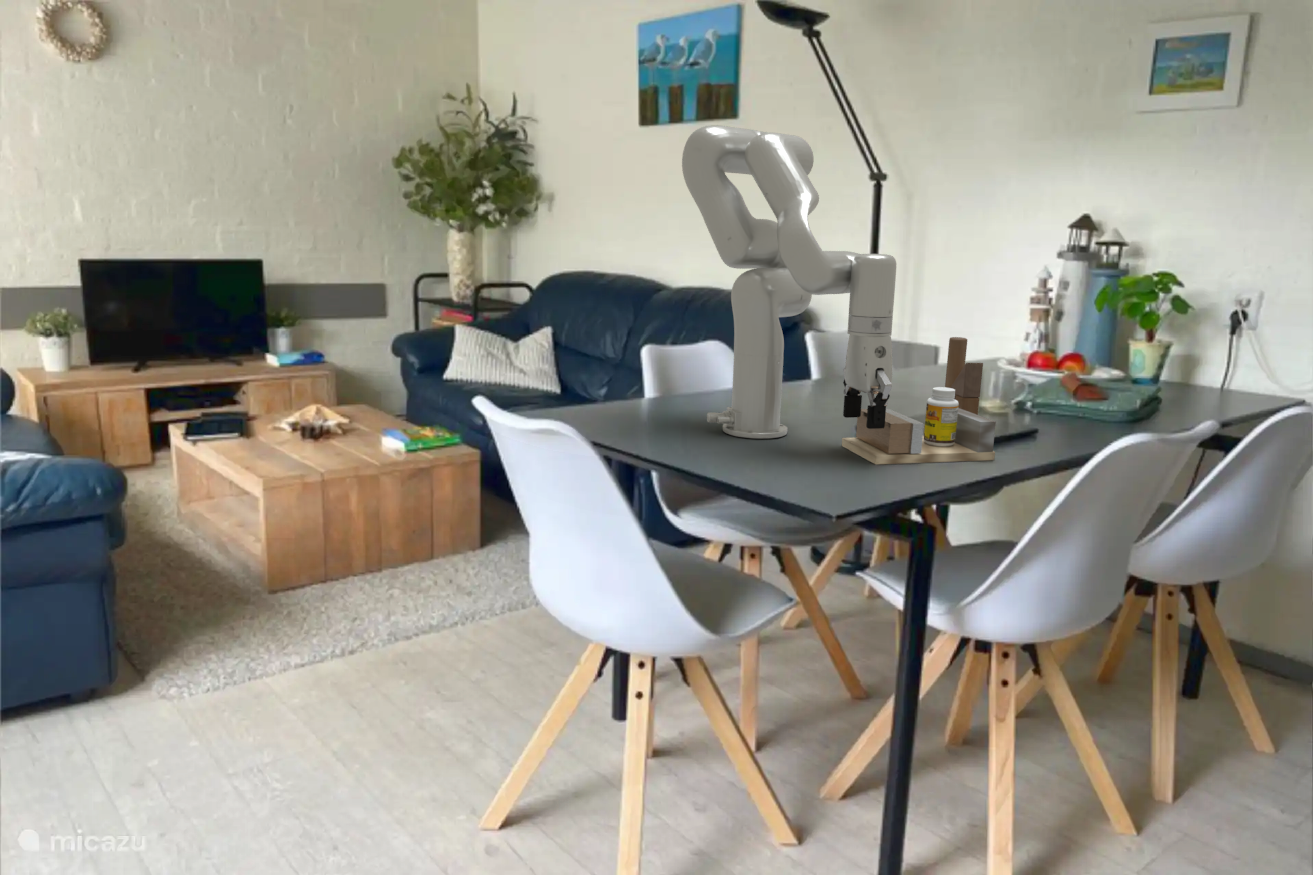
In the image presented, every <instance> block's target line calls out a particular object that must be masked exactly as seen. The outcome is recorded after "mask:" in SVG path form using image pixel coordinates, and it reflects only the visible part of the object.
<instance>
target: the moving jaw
mask: <svg viewBox="0 0 1313 875" xmlns="http://www.w3.org/2000/svg"><path fill="white" fill-rule="evenodd" d="M867 409H868V408H861V416H860V417H856V430H855V432H856V433H855V438H859V439H861V440H863V441H864V442H866V443H868V444H870V445H872V446H874V447H876V448H878V449H880V450H882V451H884V452H886V453H888V454H895V453H910V454H916V453H921V450H922V439H923V436H924V428H925V422H924V423H923V422H922V421H919V420H917V419H915V418H911V417H910V416H907V415H906V414H905V415H904V414H902V413H901V412H898V411H896V410H895V411H894V410H893V409H891V408H887V407H886V415H885V427H884V428H879V429H868V428H867V427H866V423H867Z"/></svg>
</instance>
